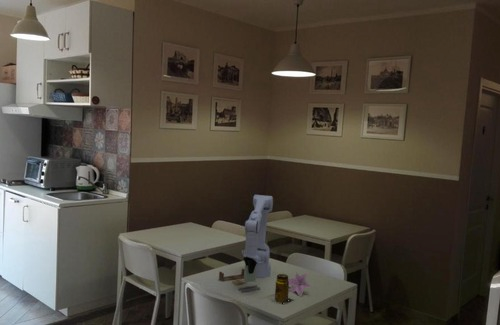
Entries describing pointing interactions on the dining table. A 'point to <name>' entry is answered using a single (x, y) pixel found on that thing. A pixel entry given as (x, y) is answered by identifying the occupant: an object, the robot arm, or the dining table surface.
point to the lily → (298, 283)
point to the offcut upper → (238, 282)
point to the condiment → (282, 289)
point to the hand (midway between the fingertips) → (250, 272)
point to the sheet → (249, 275)
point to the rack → (234, 277)
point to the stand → (249, 288)
